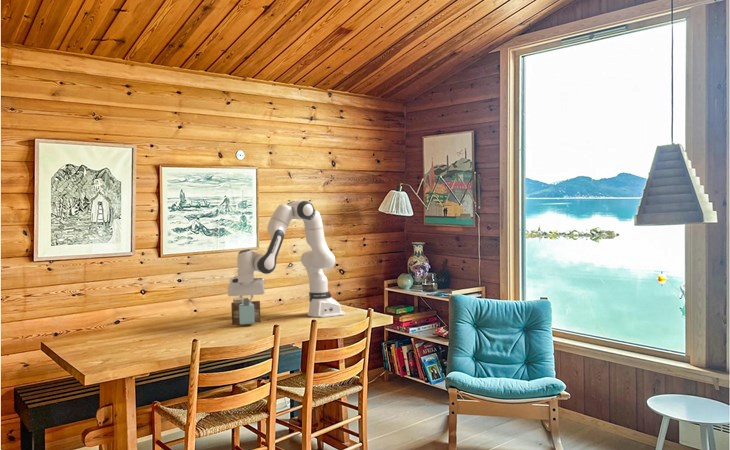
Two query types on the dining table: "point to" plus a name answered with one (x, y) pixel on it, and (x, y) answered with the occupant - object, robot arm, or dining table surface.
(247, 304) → the blue square bottle
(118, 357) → the dining table surface
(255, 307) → the wall board
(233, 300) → the can
